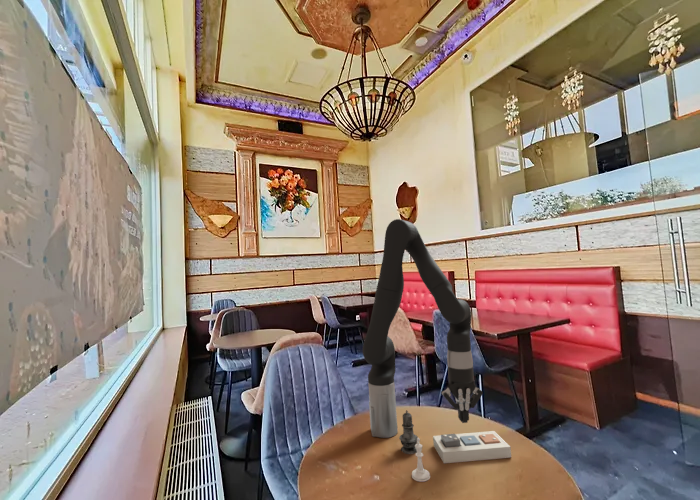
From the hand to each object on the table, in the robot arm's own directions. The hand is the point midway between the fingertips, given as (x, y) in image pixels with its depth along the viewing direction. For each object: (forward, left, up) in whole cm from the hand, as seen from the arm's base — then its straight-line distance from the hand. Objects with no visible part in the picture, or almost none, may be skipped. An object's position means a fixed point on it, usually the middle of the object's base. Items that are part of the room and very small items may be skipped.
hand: (463, 421), depth 103 cm
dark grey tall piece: (-17, +3, -9) cm, 19 cm away
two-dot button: (+7, -1, -8) cm, 10 cm away
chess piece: (-17, -11, -9) cm, 22 cm away
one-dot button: (+1, -1, -8) cm, 8 cm away
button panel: (+1, -1, -9) cm, 9 cm away
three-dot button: (-5, -1, -7) cm, 8 cm away
